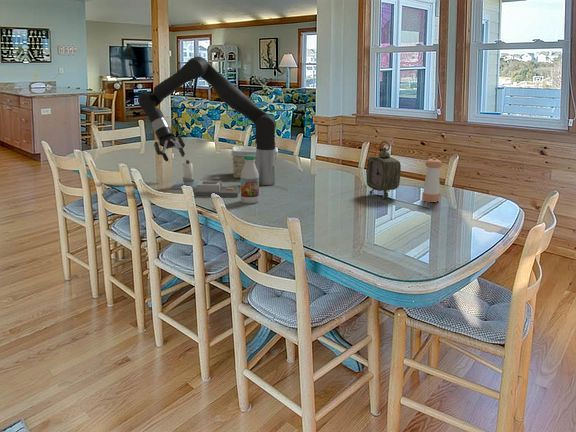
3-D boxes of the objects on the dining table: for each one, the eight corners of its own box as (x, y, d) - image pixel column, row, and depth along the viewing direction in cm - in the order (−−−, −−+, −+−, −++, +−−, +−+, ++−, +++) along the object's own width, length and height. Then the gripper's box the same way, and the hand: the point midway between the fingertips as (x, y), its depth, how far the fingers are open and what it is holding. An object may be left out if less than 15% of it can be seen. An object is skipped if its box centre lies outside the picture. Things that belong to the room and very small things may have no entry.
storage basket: (277, 173, 297) (277, 146, 293) (278, 179, 281) (278, 150, 277) (232, 173, 296) (232, 145, 292) (231, 179, 280) (231, 150, 276)
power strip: (239, 191, 253) (239, 180, 251) (237, 197, 241) (237, 186, 240) (196, 190, 253) (196, 179, 251) (192, 196, 241) (191, 185, 240)
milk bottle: (237, 201, 234) (236, 154, 229) (252, 198, 238) (252, 153, 233) (247, 204, 228) (247, 157, 223) (262, 202, 233) (262, 155, 227)
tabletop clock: (365, 193, 252) (368, 139, 246) (382, 192, 256) (385, 138, 249) (382, 200, 240) (386, 143, 233) (400, 199, 243) (404, 142, 237)
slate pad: (205, 183, 267) (205, 181, 267) (201, 190, 254) (201, 187, 253) (177, 183, 267) (177, 181, 267) (171, 189, 254) (171, 187, 253)
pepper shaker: (436, 198, 245) (440, 156, 239) (441, 202, 238) (445, 159, 232) (420, 198, 244) (423, 156, 239) (424, 202, 237) (428, 158, 232)
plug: (195, 183, 263) (194, 159, 259) (193, 185, 258) (192, 161, 254) (184, 183, 263) (183, 159, 260) (182, 185, 258) (181, 161, 255)
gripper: (150, 129, 262) (163, 159, 260) (176, 122, 269) (190, 151, 267) (146, 136, 268) (160, 165, 266) (173, 129, 275) (186, 157, 274)
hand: (175, 158), depth 267 cm, fingers open, 8 cm apart
